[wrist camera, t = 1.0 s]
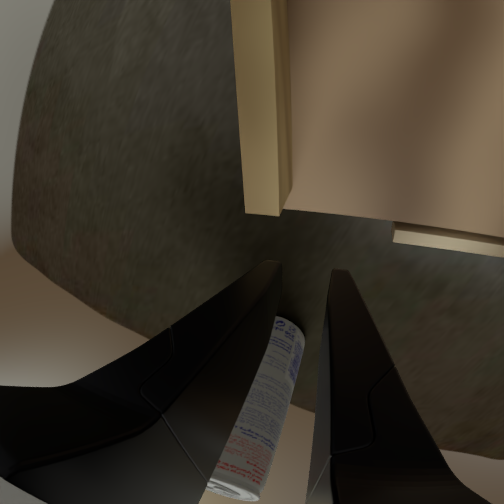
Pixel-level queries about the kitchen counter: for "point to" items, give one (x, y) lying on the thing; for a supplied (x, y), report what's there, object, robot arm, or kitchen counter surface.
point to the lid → (373, 109)
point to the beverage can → (260, 418)
